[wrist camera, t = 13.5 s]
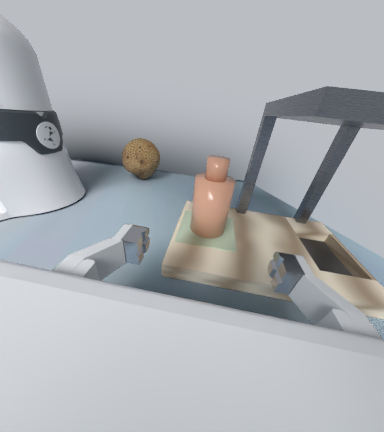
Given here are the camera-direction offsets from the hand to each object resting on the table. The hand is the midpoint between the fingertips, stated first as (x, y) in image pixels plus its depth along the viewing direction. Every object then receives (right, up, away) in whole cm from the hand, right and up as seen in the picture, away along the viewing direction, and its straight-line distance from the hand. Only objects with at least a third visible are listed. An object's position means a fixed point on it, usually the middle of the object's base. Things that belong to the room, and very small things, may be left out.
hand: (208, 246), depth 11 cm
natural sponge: (-14, +12, +33) cm, 38 cm away
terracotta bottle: (+1, 0, +14) cm, 14 cm away
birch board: (+9, -3, +14) cm, 17 cm away
